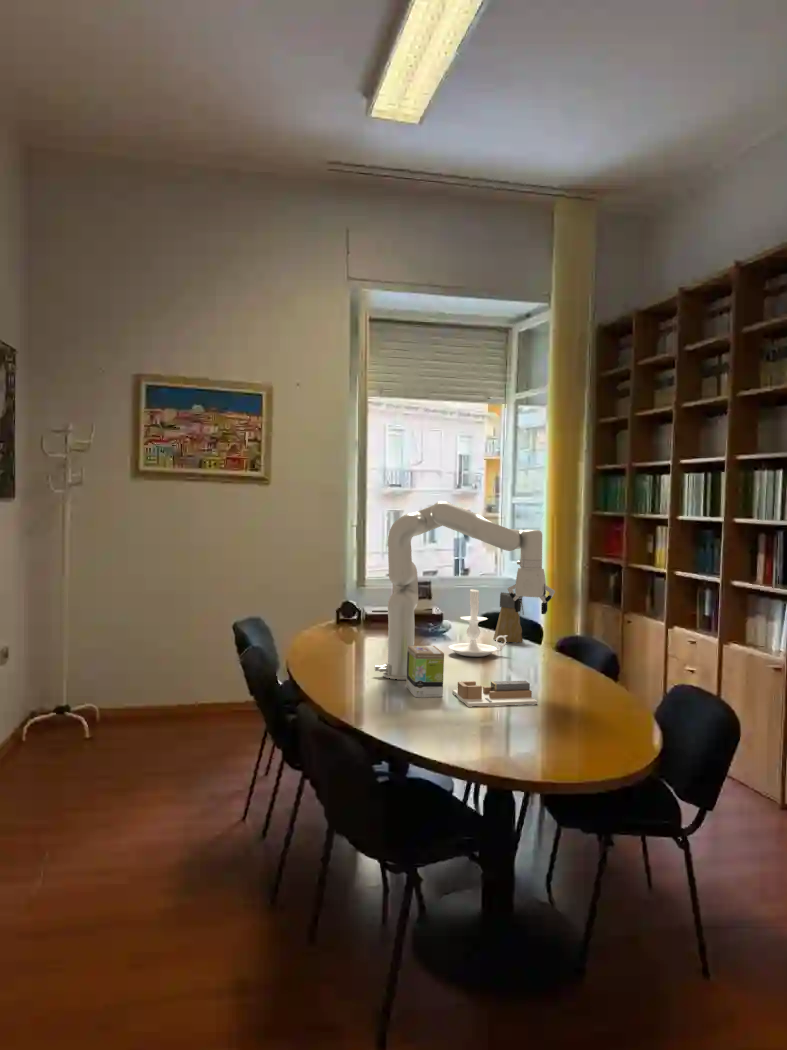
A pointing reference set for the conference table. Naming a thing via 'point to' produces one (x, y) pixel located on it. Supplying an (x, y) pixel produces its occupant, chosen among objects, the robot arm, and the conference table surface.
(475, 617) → the candlestick
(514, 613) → the windmill
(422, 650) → the tea box
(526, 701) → the lock board
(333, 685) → the conference table surface
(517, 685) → the bolt
